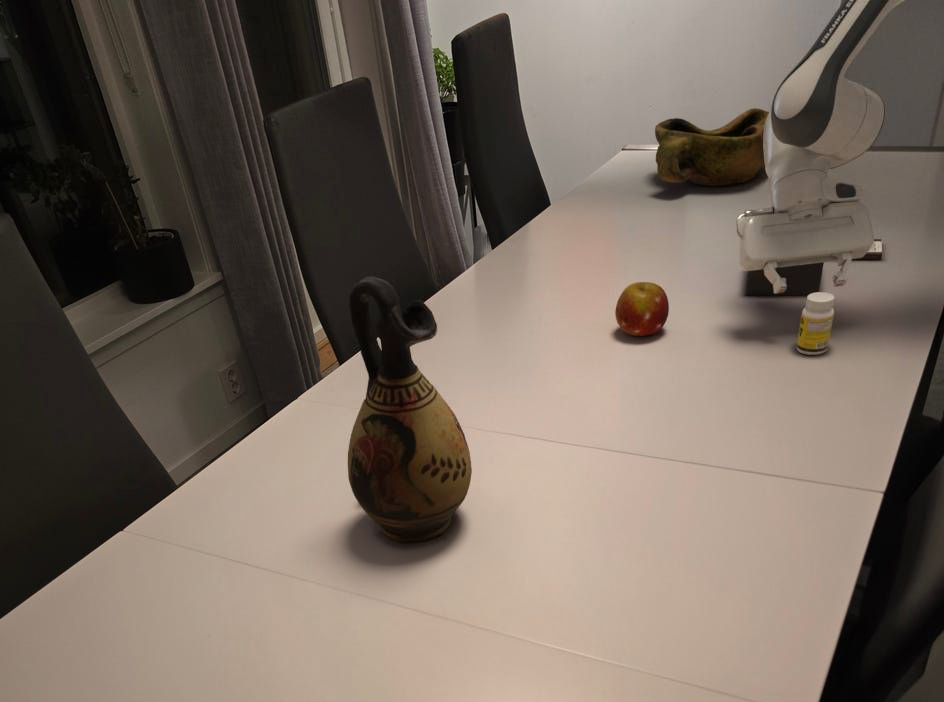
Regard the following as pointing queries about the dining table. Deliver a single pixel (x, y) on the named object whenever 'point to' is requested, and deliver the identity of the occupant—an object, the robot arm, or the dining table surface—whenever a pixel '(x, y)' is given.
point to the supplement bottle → (816, 324)
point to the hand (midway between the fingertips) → (810, 288)
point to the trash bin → (787, 280)
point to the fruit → (642, 309)
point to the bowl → (711, 150)
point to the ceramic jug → (403, 424)
